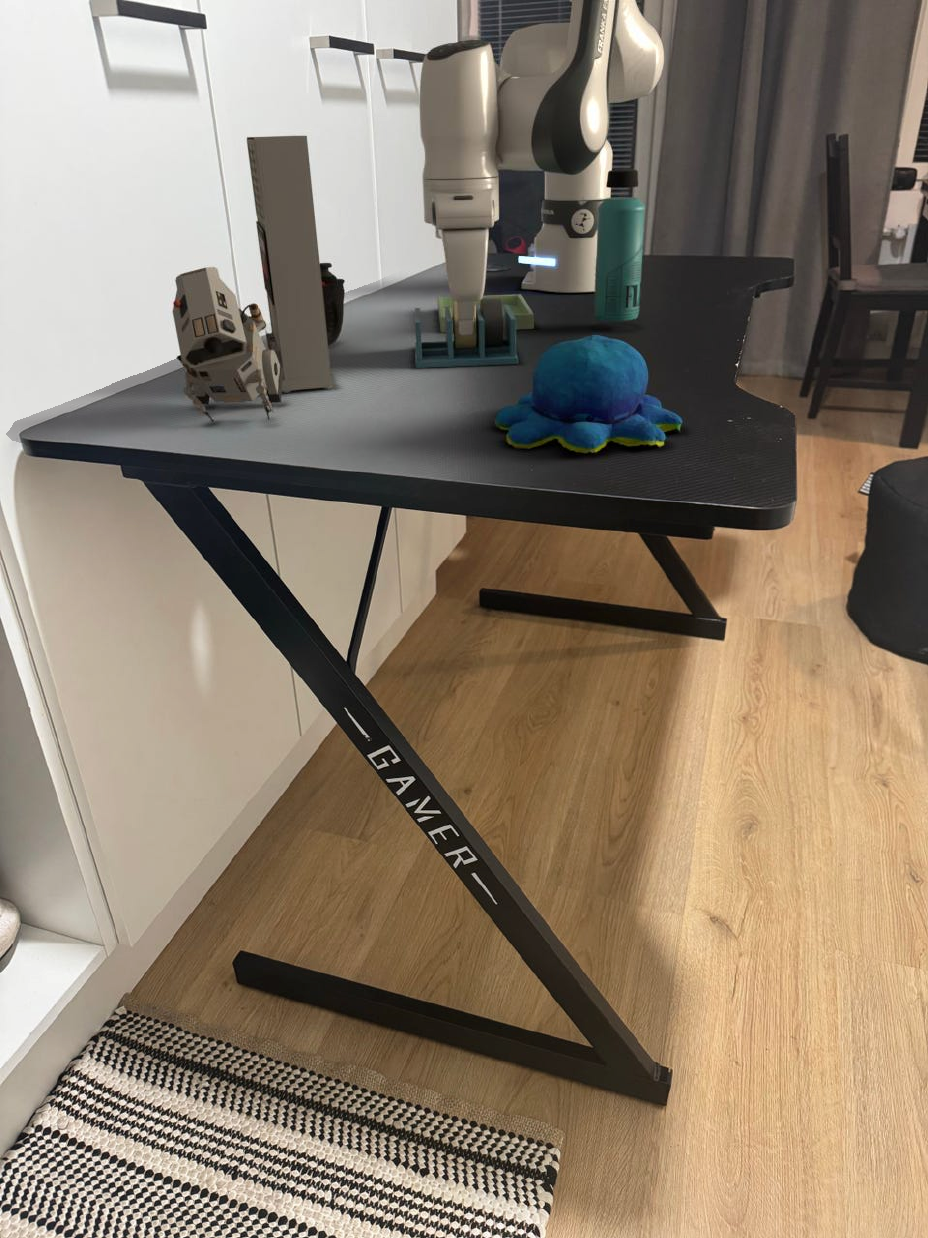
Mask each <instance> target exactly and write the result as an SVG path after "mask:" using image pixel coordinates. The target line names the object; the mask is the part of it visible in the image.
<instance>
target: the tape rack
mask: <svg viewBox="0 0 928 1238" xmlns="http://www.w3.org/2000/svg"><path fill="white" fill-rule="evenodd" d="M475 310H476V348H456V349H454V335H453V331H452V318H451V313H450V308H449V307H445V331H446V332H445V340H444V341H422V328H421V327H422V324H421V308H420V307H415V308H414V327H415V329H414V330H415V343H414V344H415V345H414V346H415V347H414V348H415V355H414V356H415V369H430V368H431V369H432V368H453V367H480V366H481V367H482V366H483V367H484V366H504V365H518V364H519V357H518V355H517V329H516V319H515V317H514V315H513V313H512V311H511V309H510V307H509V306H508V305H504V330H503V346H502V347H484V319H483V316H482V314H481V311H480V308H479V306H475Z"/></svg>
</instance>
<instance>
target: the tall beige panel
mask: <svg viewBox="0 0 928 1238" xmlns="http://www.w3.org/2000/svg"><path fill="white" fill-rule="evenodd" d="M246 145H247V153H248V161H249V169H250V177H251V184H252V192H253V199H254V207H255V215H256V218H257V219H256V221H255V223H256V231H257V238H258V246H259V247H258V248H259V255H260V261H261V269H262V270H261V271H262V277H263V284H264V290H265V292H266V299H267V308H268V312H269V313H268V314H269V321H270V322H269V323H270V327H271V328H270V330H271V332H270V333H268V332H267V330H266V329H264V330H265V339H266V347H267V350H274V352H275V353H276V356H277V358H278V361H279V364H280V365H281V366H282V368H283V382H282V394H283V393H284V394H286V393H291V392H292V391H299V390H310V389H322V388H323V390H329V389H332V388H333V387H334V379H333V375H332V371H331V361H330V352H329V345H328V341H327V331H326V321H325V311H324V301H323V291H322V281H321V271H320V263H321V262H320V253H319V243H318V232H317V223H316V214H315V213H316V212H315V204H314V194H313V184H312V173H311V165H310V154H309V143H308V136H307V135H275V136H246Z"/></svg>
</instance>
